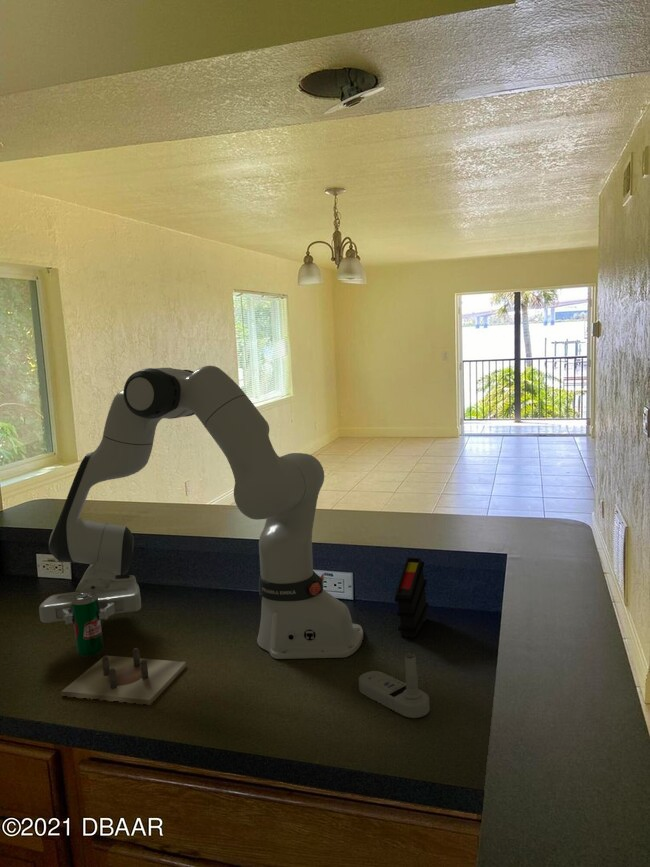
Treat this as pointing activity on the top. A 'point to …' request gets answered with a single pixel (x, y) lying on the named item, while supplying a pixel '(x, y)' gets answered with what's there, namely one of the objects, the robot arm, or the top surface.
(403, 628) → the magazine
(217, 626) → the top surface
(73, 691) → the can tray
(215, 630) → the top surface
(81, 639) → the soda can
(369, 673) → the electronic device
